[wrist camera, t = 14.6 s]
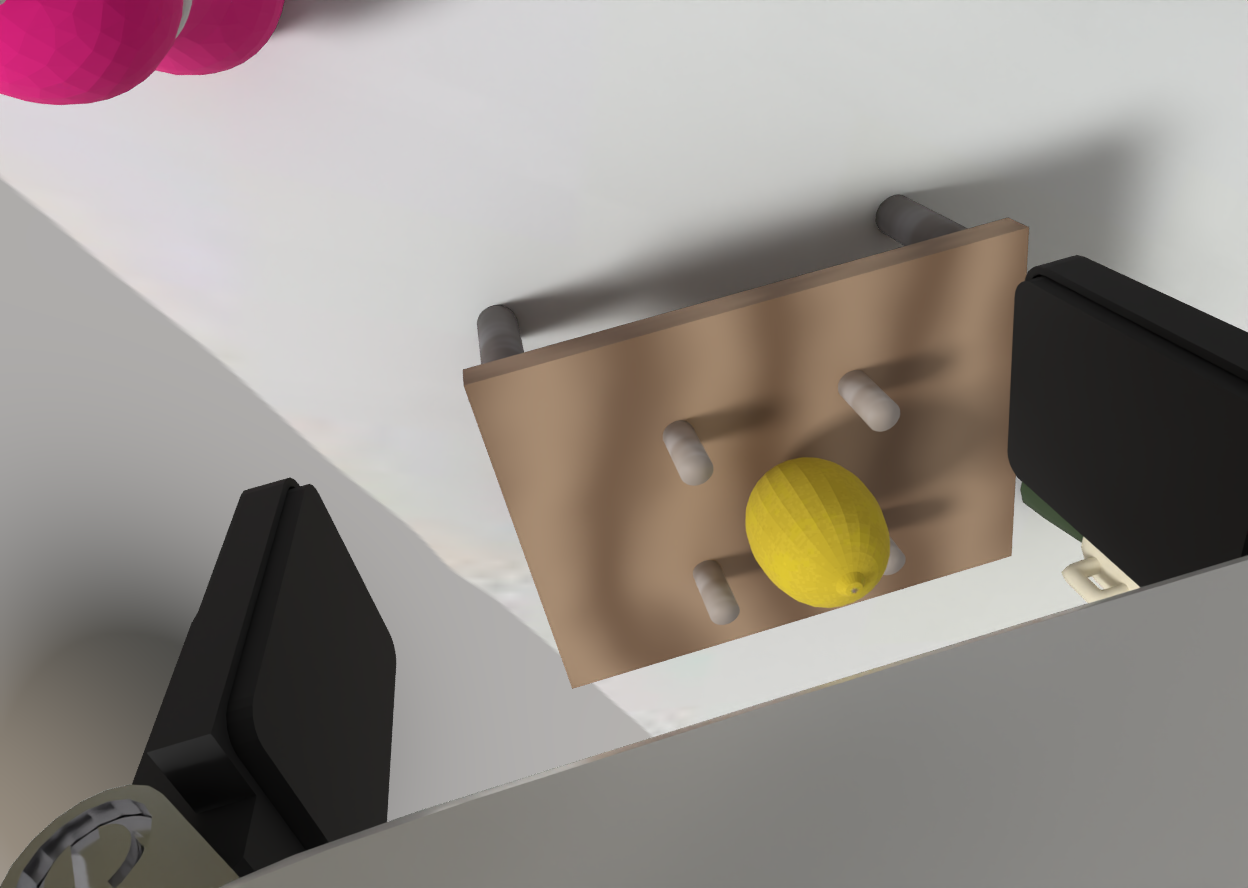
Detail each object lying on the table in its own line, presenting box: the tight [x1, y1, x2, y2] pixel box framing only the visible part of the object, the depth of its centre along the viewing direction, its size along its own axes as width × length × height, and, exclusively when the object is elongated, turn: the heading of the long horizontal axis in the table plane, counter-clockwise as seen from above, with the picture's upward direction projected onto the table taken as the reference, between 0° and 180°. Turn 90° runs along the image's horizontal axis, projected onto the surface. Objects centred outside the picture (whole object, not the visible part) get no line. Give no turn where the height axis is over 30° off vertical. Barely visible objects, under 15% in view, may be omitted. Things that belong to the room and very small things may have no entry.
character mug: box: [1020, 482, 1140, 603], centre depth 48 cm, size 11×7×13 cm, turn 106°
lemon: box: [745, 457, 890, 608], centre depth 35 cm, size 6×6×8 cm
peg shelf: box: [463, 195, 1029, 689], centre depth 41 cm, size 24×18×12 cm
